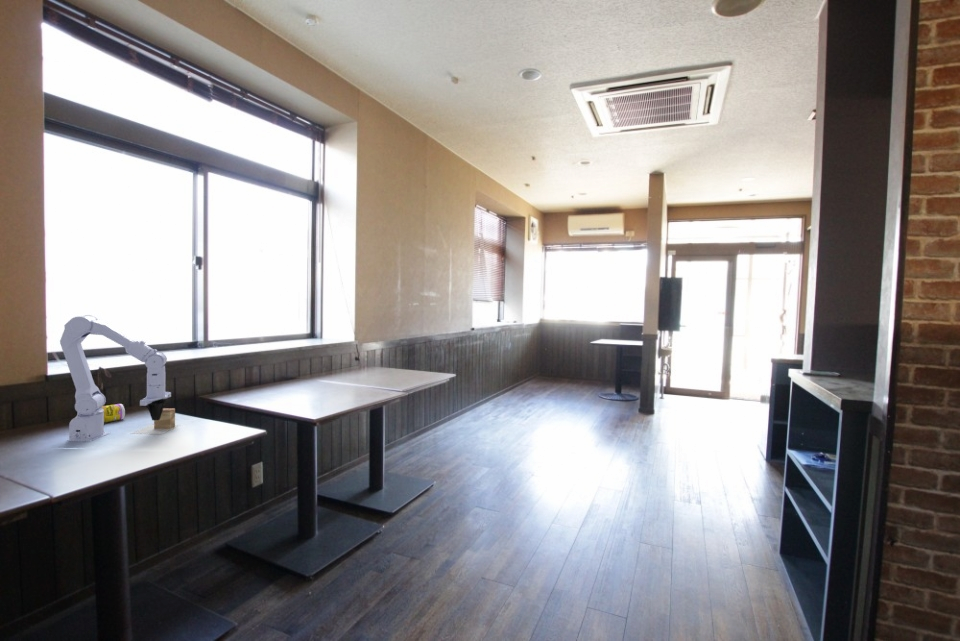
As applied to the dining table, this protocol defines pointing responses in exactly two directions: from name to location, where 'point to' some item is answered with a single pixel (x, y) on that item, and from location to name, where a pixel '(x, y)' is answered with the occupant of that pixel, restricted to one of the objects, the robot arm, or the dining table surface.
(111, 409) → the supplement bottle
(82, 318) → the robot arm
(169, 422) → the oak block
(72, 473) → the dining table surface
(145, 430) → the grey mat
